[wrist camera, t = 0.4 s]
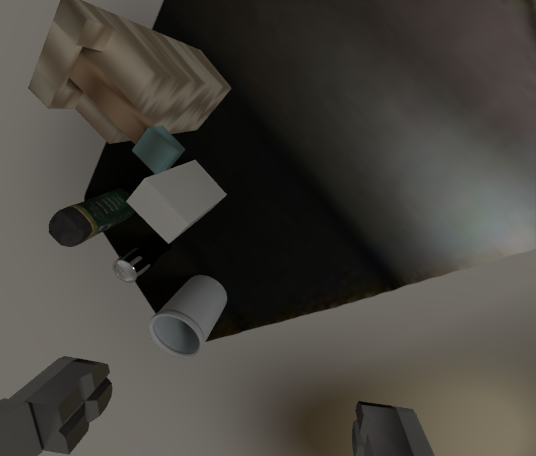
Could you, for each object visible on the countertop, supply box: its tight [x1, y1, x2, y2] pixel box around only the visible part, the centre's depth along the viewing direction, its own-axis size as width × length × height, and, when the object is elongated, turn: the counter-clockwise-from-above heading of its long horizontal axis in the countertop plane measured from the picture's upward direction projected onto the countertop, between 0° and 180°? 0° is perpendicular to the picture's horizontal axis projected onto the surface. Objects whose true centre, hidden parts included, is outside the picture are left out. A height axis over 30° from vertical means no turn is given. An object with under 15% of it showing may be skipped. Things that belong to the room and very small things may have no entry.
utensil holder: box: [148, 275, 227, 359], centre depth 70 cm, size 15×15×18 cm
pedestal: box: [126, 160, 227, 244], centre depth 55 cm, size 7×11×18 cm, turn 43°
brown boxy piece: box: [29, 0, 231, 144], centre depth 41 cm, size 12×9×29 cm
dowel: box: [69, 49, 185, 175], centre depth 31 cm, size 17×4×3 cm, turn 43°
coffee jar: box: [49, 188, 135, 247], centre depth 63 cm, size 10×8×19 cm
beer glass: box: [113, 233, 172, 283], centre depth 67 cm, size 7×7×15 cm
